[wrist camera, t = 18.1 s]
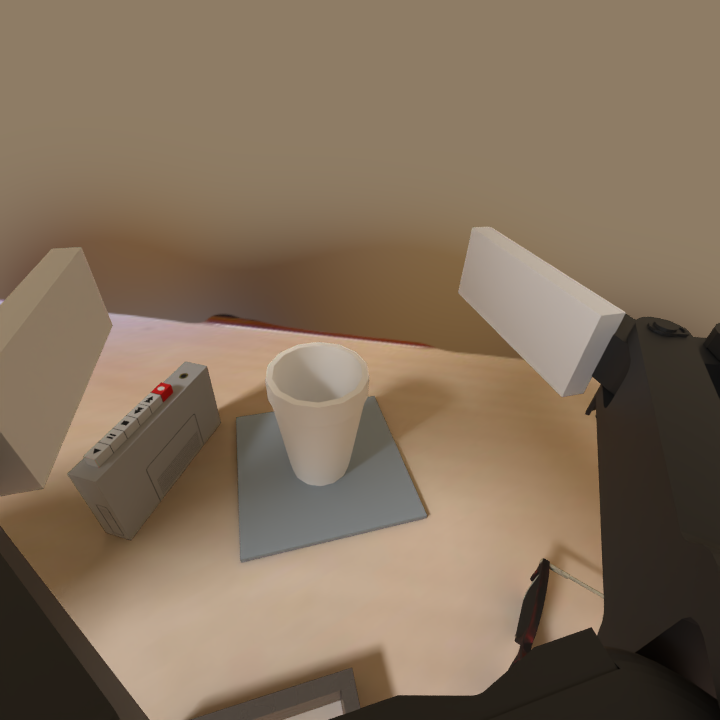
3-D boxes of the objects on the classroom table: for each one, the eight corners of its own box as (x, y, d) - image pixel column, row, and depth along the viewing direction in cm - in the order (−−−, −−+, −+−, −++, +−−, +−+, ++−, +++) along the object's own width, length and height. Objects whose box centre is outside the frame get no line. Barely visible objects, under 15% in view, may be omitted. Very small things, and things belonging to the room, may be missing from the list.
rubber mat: (241, 562, 35) (240, 559, 34) (236, 420, 48) (236, 417, 48) (426, 518, 39) (427, 515, 39) (374, 398, 53) (374, 395, 52)
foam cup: (281, 431, 47) (271, 342, 39) (358, 428, 48) (363, 341, 40) (274, 502, 39) (260, 409, 31) (366, 497, 40) (374, 405, 32)
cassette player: (201, 418, 49) (183, 354, 43) (220, 423, 48) (205, 358, 42) (106, 533, 37) (61, 466, 30) (131, 540, 36) (90, 474, 30)
